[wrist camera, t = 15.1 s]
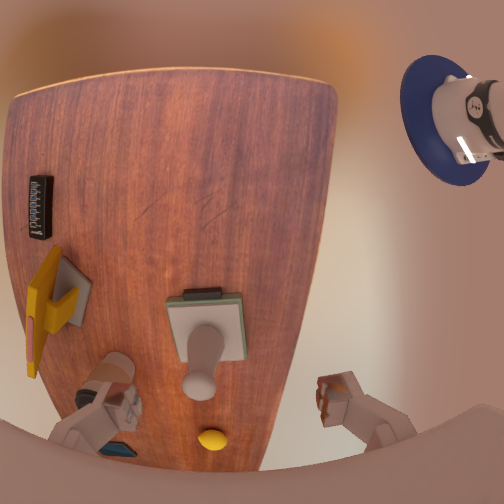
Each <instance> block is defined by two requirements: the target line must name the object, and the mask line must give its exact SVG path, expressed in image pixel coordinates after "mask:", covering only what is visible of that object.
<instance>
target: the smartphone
mask: <svg viewBox="0 0 504 504" xmlns="http://www.w3.org/2000/svg"><path fill="white" fill-rule="evenodd" d="M99 452H100V453H101V454H103V455H107V456H120V457H137V454H136V453H135V452H134V451H133V450H132V449H131V448H130V447H129V446H127V445H126V444H125V443H122V442H107V443H106V444H105V445H104V446H103V447H102V448H101V449H100V450H99Z"/></svg>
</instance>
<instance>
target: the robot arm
mask: <svg viewBox="0 0 504 504" xmlns="http://www.w3.org/2000/svg"><path fill="white" fill-rule="evenodd" d="M432 115H433V120H434V123H435V126H436V129H437V131H438V133H439V135H440V137H441V139H442V140H443V142H444V143H445V144H446V145H447V146H448V148H449V149H450V150H451V151H452V153H453V156H454V158H455V160H456V162H457V163H458V164H459V165H461V164H468V163H475V162H481V161H487V160H493V159H496V158H497V159H498V160H503V161H504V81H497V80H486V81H483V82H481V81H480V80H478V79H477V78H475V77H471V76H467V78H463V79H457V78H456V77H454V76H452V75H448V76H447V77H446V79H445V81H444V83H443V84H442V85H441V86H439V87H438V88H437V89H436V91H435V92H434V95H433V98H432ZM317 384H318V387H319V388H318V389H317V390H316V401H317V406H318V409H319V410H320V411H321V420H322V423H323V427H330V426H336V425H342V424H343V426H344V427H345V428H347V429H348V430H349V431H350V432H352V433H353V434H354V435H355V436H357V437H358V438H359V439H361V440H362V441H363V442H364V443H366V444H367V447H366V449H365V451H364V453H362V454H359V455H354V456H351V457H346V458H342V459H338V460H334V461H329V462H324V463H319V464H313V465H307V466H301V467H294V468H286V469H278V470H267V471H253V472H193V471H179V470H169V469H160V468H153V467H146V466H140V465H134V464H129V463H124V462H119V461H114V460H110V459H106V458H102V457H100V456H99V455H98V453H97V451H99V450H100V449H101V448H102V447H103V446H104V445H105V444H106V443H107V442H108V441H110V440H111V439H112V438H113V437H114V436H115V435H116V434H117V433H118V432H119V430H120V431H128V432H136V429H137V426H138V423H139V422H138V420H137V418H138V417H139V416H140V415H141V413H142V408H143V404H142V400H141V398H140V396H138V395H137V394H136V391H137V389H136V387H135V385H132V384H125V383H117V382H108V381H105V382H103V384H102V386H101V387H100V389H99V391H98V393H97V395H96V397H95V399H94V401H93V403H92V404H91V403H89V404H87V405H86V406H84V407H83V408H81V409H79V410H78V411H76V412H74V413H73V414H71V415H70V416H68V417H66V418H65V419H63V420H61V421H60V422H58V423H56V425H55V427H54V429H53V431H52V432H51V434H50V436H49V438H48V440H46V439H43V438H41V437H38V436H36V435H34V434H31V433H29V432H27V431H25V430H23V429H20V428H18V427H16V426H14V425H12V424H10V423H8V422H7V421H5V420H2V419H0V504H504V411H503V410H501V409H498V408H495V407H492V406H489V405H485V404H479V405H476V406H474V407H472V408H471V409H469V410H467V411H465V412H463V413H462V414H460V415H458V416H456V417H454V418H452V419H450V420H448V421H446V422H444V423H442V424H440V425H438V426H436V427H433V428H431V429H429V430H427V431H424V432H422V433H420V434H417V432H416V430H415V428H414V426H413V425H412V423H411V421H410V419H409V418H408V416H407V415H405V414H403V413H402V412H400V411H398V410H396V409H394V408H392V407H390V406H388V405H386V404H384V403H382V402H380V401H378V400H377V399H375V398H373V397H371V396H369V395H364V393H363V391H362V389H361V387H360V385H359V383H358V381H357V379H356V377H355V375H354V374H353V372H352V371H348V372H343V373H339V374H333V375H328V376H322V377H318V381H317Z"/></svg>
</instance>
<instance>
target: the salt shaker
mask: <svg viewBox="0 0 504 504" xmlns="http://www.w3.org/2000/svg"><path fill="white" fill-rule="evenodd" d="M224 348H225V343H224V338H223V336H222V335H221V333H220V332H219V331H218V330H216V329H215V328H214V327H213V326H211V325H209V326H199V327H198V328H197V329H195V330H194V331H193V332H192V333H191V334H190V335H189V338H188V341H187V358H188V373H187V374H186V375H185V377H184V380H183V383H182V389H183V391H184V393H185V394H186V395H187V396H188V397H190V398H192V399H194V400H199V401H203V400H208V399H210V398H212V397H213V396H214V394H215V391H216V381H215V378H214V375H215V372H216V369H217V367H218V364H219V361H220V359H221V356H222V353H223V351H224Z"/></svg>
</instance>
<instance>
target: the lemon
mask: <svg viewBox="0 0 504 504" xmlns="http://www.w3.org/2000/svg"><path fill="white" fill-rule="evenodd" d="M198 439H199V441H200V442H201V444H202V445H203V446H204V447H206V448H207V449H209V450H219V449H222V448H223V447H224V446H225V445H226V444H227V439H226V437H225V435H224V434H223V433H222V432H220V431H216V430H206V431H204V432H203V433H202V434H200V435H199V436H198Z"/></svg>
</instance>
